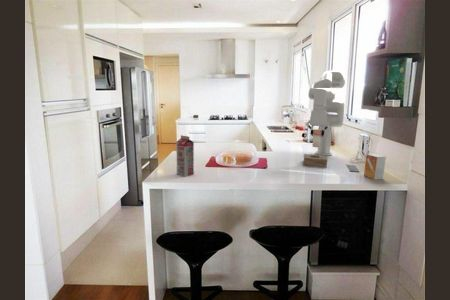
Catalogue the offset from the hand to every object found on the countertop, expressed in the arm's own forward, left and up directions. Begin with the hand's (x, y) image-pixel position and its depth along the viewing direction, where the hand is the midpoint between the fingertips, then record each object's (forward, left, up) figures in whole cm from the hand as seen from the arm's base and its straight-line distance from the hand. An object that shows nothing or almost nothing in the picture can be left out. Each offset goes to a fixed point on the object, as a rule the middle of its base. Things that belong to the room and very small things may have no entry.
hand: (317, 135), depth 185 cm
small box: (+17, +32, -20) cm, 42 cm away
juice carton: (+49, -71, -20) cm, 89 cm away
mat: (0, +20, -20) cm, 28 cm away
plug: (0, 0, -7) cm, 7 cm away
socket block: (0, 0, -20) cm, 20 cm away
